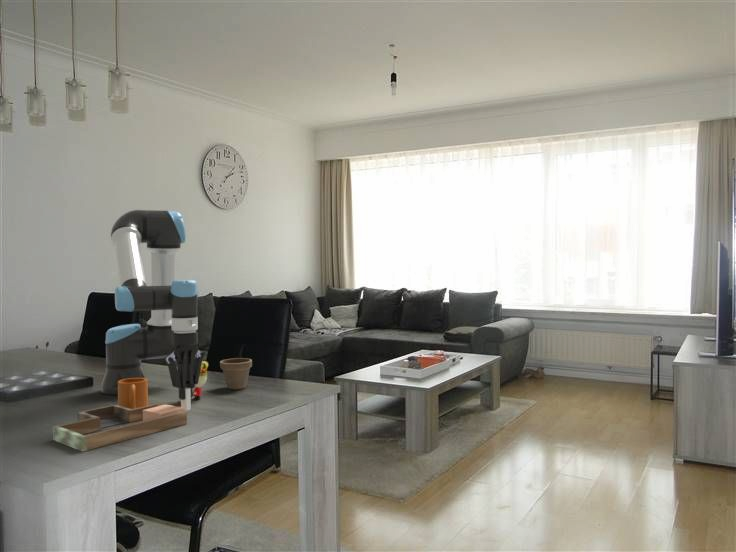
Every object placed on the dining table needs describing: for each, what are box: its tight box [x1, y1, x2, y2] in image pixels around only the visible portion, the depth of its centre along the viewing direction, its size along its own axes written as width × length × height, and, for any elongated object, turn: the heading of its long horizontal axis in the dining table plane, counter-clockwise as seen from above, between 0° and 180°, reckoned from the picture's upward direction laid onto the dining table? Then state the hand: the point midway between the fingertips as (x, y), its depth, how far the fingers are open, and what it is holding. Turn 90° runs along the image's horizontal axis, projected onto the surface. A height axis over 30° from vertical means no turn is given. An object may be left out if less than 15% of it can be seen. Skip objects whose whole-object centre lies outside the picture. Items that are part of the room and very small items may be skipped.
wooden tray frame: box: [52, 403, 188, 453], centre depth 166 cm, size 25×30×4 cm
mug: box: [117, 377, 149, 409], centre depth 186 cm, size 9×12×9 cm
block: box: [142, 404, 185, 421], centre depth 173 cm, size 8×8×4 cm
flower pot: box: [219, 357, 253, 390], centre depth 217 cm, size 12×11×10 cm
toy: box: [192, 360, 209, 401], centre depth 200 cm, size 7×7×15 cm
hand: (185, 409), depth 179 cm, fingers closed
